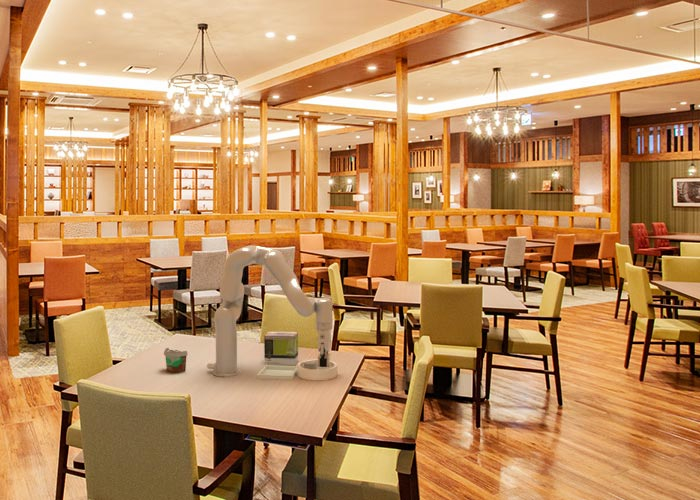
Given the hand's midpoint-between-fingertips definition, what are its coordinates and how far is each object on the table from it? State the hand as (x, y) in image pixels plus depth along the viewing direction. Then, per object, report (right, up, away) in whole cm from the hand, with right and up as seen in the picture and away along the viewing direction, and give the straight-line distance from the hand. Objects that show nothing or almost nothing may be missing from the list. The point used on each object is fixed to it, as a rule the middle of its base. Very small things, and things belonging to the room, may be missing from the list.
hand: (324, 364), depth 278 cm
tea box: (-22, -3, +21) cm, 30 cm away
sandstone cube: (0, 0, 0) cm, 0 cm away
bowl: (-3, -5, +1) cm, 6 cm away
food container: (-70, -4, +4) cm, 70 cm away
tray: (-21, -5, +1) cm, 21 cm away
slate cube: (-6, -4, +1) cm, 8 cm away
